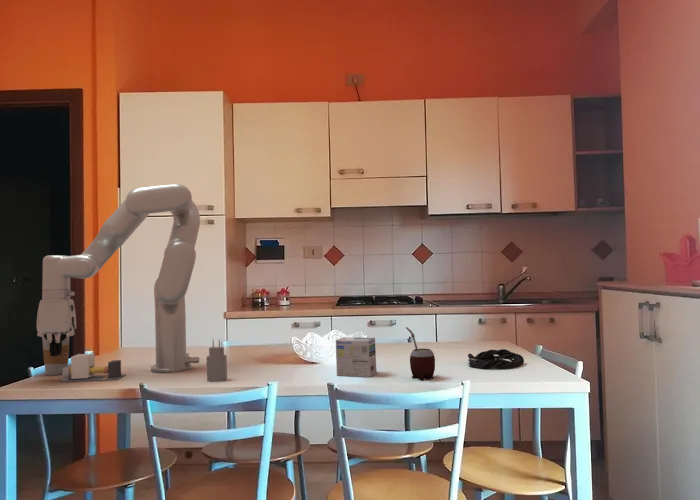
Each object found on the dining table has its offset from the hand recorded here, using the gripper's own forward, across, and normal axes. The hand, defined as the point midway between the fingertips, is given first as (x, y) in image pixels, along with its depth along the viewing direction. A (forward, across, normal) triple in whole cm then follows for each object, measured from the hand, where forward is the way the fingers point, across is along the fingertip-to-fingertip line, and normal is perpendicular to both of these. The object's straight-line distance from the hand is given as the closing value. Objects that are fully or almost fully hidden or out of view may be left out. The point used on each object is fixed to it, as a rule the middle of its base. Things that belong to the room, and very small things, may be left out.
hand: (55, 355), depth 164 cm
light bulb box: (+6, -92, +8) cm, 92 cm away
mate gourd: (+5, -110, +17) cm, 111 cm away
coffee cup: (+8, +5, -11) cm, 15 cm away
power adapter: (+7, -51, +9) cm, 52 cm away
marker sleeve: (+7, -8, 0) cm, 11 cm away
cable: (+5, -136, +2) cm, 136 cm away
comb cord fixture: (+7, -11, 0) cm, 13 cm away
